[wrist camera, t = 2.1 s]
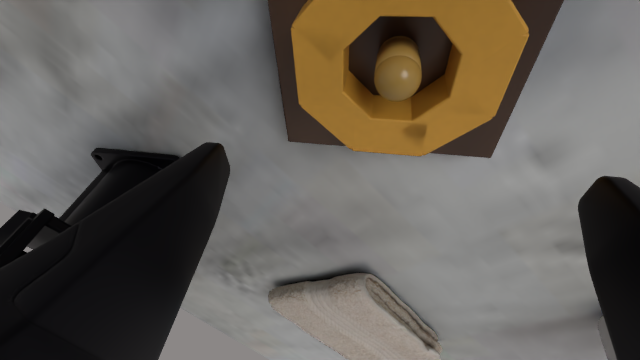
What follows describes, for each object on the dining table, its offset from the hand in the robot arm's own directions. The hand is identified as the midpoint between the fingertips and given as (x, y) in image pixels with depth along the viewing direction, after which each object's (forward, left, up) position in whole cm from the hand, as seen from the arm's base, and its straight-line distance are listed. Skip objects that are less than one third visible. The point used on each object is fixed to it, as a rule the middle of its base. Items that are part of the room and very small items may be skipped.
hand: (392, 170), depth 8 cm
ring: (0, 0, -6) cm, 7 cm away
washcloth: (0, -29, -8) cm, 30 cm away
